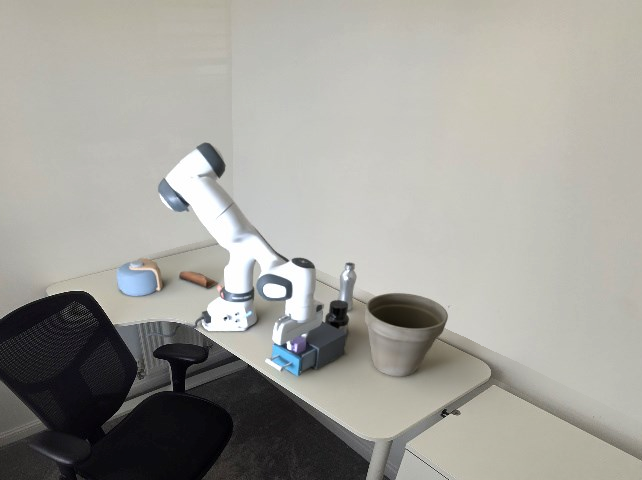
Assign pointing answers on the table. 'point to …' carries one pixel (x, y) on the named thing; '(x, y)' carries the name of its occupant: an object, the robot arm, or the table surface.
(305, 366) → the blue drawer
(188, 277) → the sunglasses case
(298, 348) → the purple cube
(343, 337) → the drawer cabinet
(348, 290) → the silver metal bottle
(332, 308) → the ink bottle
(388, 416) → the table surface
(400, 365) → the flower pot
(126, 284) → the blue kettle
